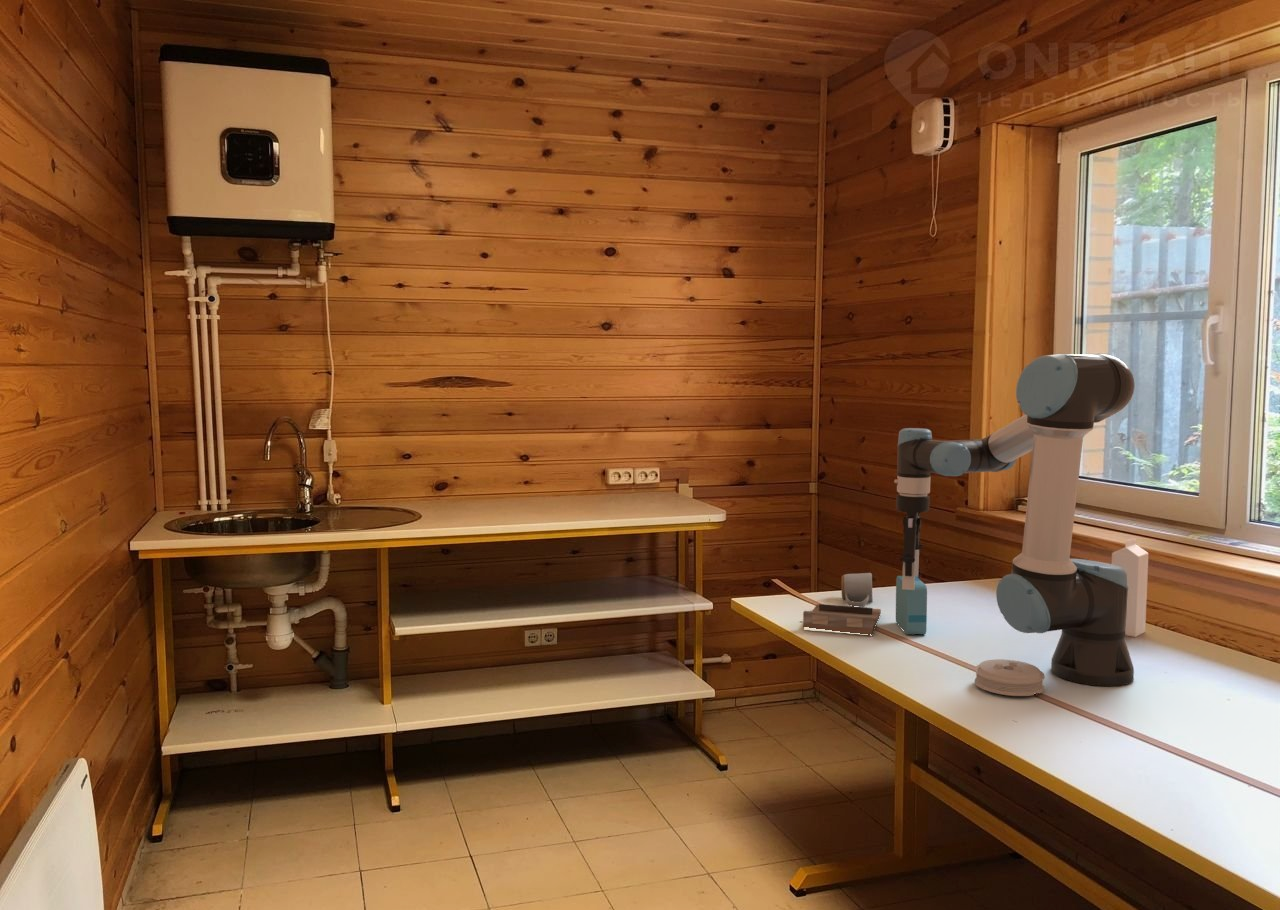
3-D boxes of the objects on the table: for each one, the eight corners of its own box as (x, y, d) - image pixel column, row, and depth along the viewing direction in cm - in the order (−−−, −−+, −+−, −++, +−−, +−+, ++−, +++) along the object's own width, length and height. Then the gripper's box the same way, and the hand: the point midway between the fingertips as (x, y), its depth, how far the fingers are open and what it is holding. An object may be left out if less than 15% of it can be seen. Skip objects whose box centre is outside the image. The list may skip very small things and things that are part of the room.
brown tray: (871, 636, 223) (872, 617, 222) (802, 630, 228) (803, 612, 227) (880, 615, 242) (880, 597, 241) (816, 610, 247) (817, 592, 247)
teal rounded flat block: (926, 636, 223) (927, 585, 221) (906, 636, 223) (907, 585, 222) (913, 622, 235) (914, 574, 233) (895, 622, 235) (896, 574, 234)
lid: (960, 683, 191) (961, 659, 190) (1011, 675, 195) (1012, 651, 195) (1005, 704, 179) (1006, 678, 178) (1058, 695, 183) (1059, 670, 183)
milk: (1145, 632, 225) (1150, 539, 222) (1135, 637, 221) (1140, 542, 218) (1118, 627, 229) (1122, 535, 227) (1107, 632, 225) (1112, 539, 223)
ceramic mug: (841, 597, 261) (841, 569, 260) (872, 598, 259) (872, 570, 258) (841, 607, 250) (841, 578, 249) (873, 608, 249) (873, 579, 248)
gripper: (900, 486, 238) (898, 569, 241) (891, 501, 215) (889, 593, 217) (932, 487, 236) (929, 572, 238) (926, 503, 213) (923, 596, 215)
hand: (910, 582), depth 228 cm, fingers open, 13 cm apart
